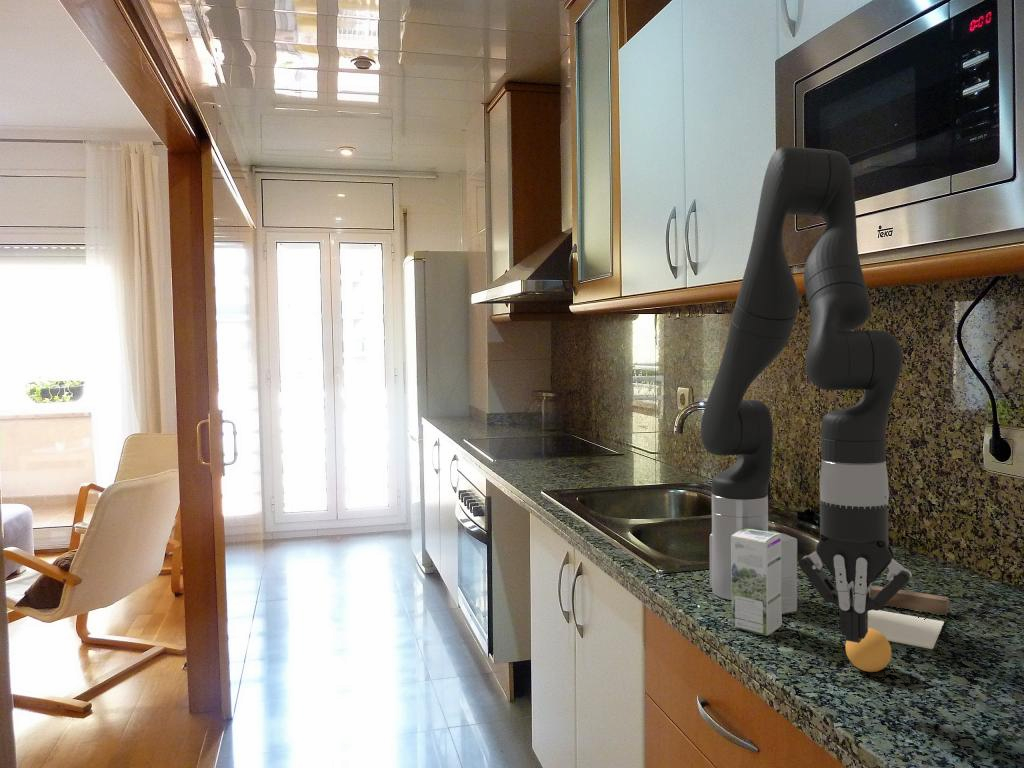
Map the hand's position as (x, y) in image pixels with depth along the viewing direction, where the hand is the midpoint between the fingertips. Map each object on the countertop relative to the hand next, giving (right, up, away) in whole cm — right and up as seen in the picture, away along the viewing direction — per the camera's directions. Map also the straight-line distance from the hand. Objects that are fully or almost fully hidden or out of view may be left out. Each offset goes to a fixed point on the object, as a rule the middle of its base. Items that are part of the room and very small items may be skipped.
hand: (854, 639), depth 93 cm
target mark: (+16, -6, +23) cm, 28 cm away
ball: (+5, -4, +8) cm, 11 cm away
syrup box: (-4, -6, +24) cm, 25 cm away
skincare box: (+1, -6, +32) cm, 33 cm away
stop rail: (+22, -5, +31) cm, 38 cm away
